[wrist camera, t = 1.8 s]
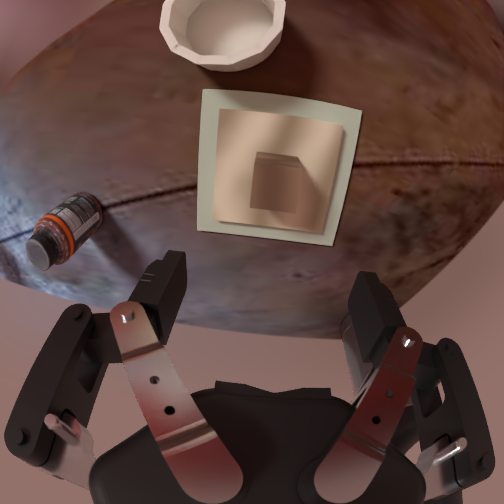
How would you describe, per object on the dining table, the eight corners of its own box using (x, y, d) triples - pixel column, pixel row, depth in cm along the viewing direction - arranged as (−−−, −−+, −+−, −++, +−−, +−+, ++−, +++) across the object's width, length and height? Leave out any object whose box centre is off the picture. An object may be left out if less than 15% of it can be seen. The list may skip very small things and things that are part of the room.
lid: (340, 124, 24) (359, 131, 19) (319, 229, 30) (329, 257, 25) (221, 108, 24) (208, 110, 19) (214, 216, 30) (202, 242, 25)
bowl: (285, -6, 17) (289, -29, 12) (276, 75, 22) (278, 68, 17) (188, -8, 17) (169, -28, 12) (177, 71, 22) (154, 66, 17)
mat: (360, 110, 23) (362, 110, 23) (331, 243, 32) (332, 246, 31) (204, 89, 23) (202, 89, 23) (198, 228, 32) (197, 230, 31)
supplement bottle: (86, 236, 33) (41, 284, 24) (65, 202, 31) (13, 243, 21) (112, 219, 32) (63, 269, 22) (89, 182, 29) (31, 222, 19)
